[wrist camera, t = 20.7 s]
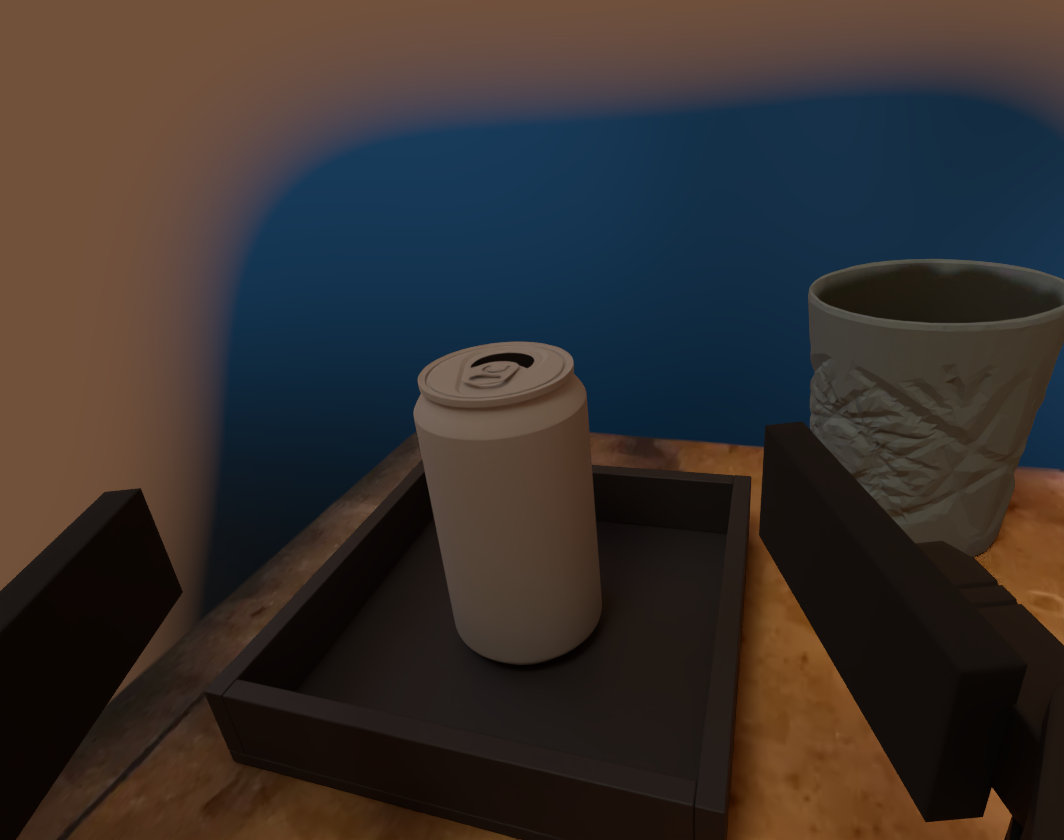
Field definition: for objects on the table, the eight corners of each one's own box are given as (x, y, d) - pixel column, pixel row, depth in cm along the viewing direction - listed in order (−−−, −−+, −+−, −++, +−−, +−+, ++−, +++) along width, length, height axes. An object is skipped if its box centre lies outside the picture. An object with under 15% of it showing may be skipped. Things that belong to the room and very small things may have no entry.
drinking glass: (994, 476, 37) (1043, 256, 31) (1045, 595, 28) (1122, 322, 23) (795, 459, 40) (810, 260, 35) (788, 560, 32) (806, 319, 27)
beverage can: (615, 582, 31) (600, 335, 26) (585, 690, 25) (557, 404, 20) (487, 568, 33) (449, 335, 28) (433, 665, 27) (373, 399, 22)
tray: (232, 761, 25) (203, 691, 23) (438, 505, 40) (428, 452, 38) (722, 895, 19) (725, 813, 18) (748, 537, 34) (751, 475, 32)
